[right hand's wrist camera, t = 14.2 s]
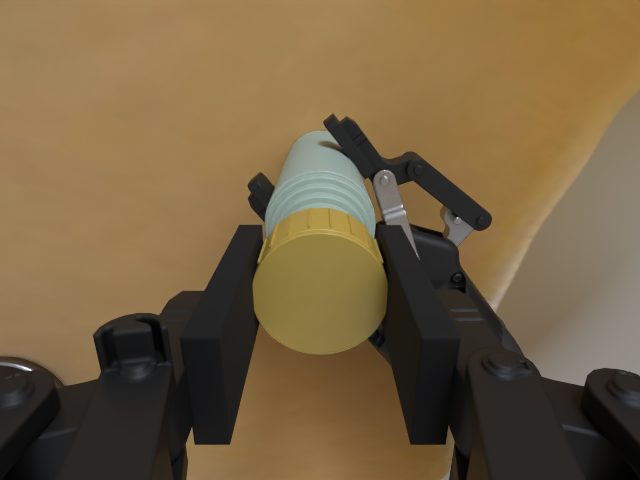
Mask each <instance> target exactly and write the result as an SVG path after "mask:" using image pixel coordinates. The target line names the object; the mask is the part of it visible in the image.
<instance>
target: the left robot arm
mask: <svg viewBox="0 0 640 480" xmlns="http://www.w3.org/2000/svg"><path fill="white" fill-rule="evenodd" d="M323 123H324V125H325V127H326V128H327V130H328V131H329V132H330V134H331V135H332V136H333V138H334V139H335V140H336V142H337V143H338V144H339V146H340V147H341V148H342V150H343V151H344V152H345V153H346V155H347V156H348V157H349V159H350V160H351V161H352V162H353V163H354V165H355V166H356V167H357V169H358V171H359V172H360V173H361V175H362V176H363V177H364V178H365V179H366V178H369V179H370V180H371V182H372V186H373V189H374V192H375V196H376V199H377V203H378V207H379V210H380V213H381V216H382V220H383V221H382V220H381V221H380V222H378V223H377V224H376V226H375V236H374V239H376V241H377V242H378V225H401V226H402V228H403V230H404V232H405V234H406V235H407V237H408V239H409V241H410V243H411V245H412V247H413V249H414V251H415V252H416V254H417V256H418V258H419V260H420V262H421V264H422V266H423V267H424V269H425V271H426V273H427V275H428V277H429V279H430V281H431V283H432V284H433V286H434V288H435V290H459V291H461V292H462V293H464V294H465V295H467V296H468V297H469V298H471V299H472V300H473V302H474V303H475V305H476V306H477V308H478V309H479V312H481V314H482V315H483V317H484V318H485V321H487V323H488V324H489V326H490V327H491V329H492V330H493V332H494V333H495V335H496V336H497V338H498V339H499V341H500V342H501V343H502V345H503V346H504V348H505V349H508V350H511V351H514V352H516V353H518V354H521V355H523V353H522V351H521V349H520V347H519V346H518V344H517V343H516V341H515V340H514V338H513V337H512V335H511V334H510V333H509V331H508V330H507V329H506V327H505V325H504V323H503V321H502V320H501V319H500V318H499V317H498V316H497V315H496V314H495V312H494V311H493V310H492V308H491V307H490V305H489V304H488V303H487V301H486V300H485V299H484V297H483V296H482V295H481V293H480V292H479V290H478V289H477V288H476V286H475V285H474V284H473V282H472V281H471V280H470V278H469V277H468V275H467V274H466V273H465V271H464V270H463V269H462V267H461V265H460V262H459V251H458V248H457V247H458V246H459V245H460V244H461V242H462V241H463V240H464V239H465V238H466V237H467V236H468V235H469V234H470V233H471V232H472V231H473V230H474V229H475V230H478V231H482V230H485V229H486V228H488V227H489V226H490V224H491V221H492V217H491V215H490V214H489V213H488V212H487V211H486V210H485V209H484V208H482V207H481V206H480V205H479V204H477V203H476V202H475V201H474V200H473V199H471V198H470V197H469V196H468V195H467V194H465V193H464V192H463V191H462V190H460V189H459V188H458V187H457V186H456V185H454V184H453V183H452V182H451V181H449V180H448V179H447V178H446V177H445V176H443V175H442V174H441V173H440V172H438V171H437V170H436V169H435V168H434V167H432V166H431V165H430V164H429V163H427V162H426V161H425V160H424V159H423V158H421V157H420V156H419V155H418V154H416V153H415V152H406V153H404V154H403V155H402V156H400V157H397V158H394V159H385V158H383V157H381V156H380V155H379V154H378V152H377V151H376V150H375V148H374V147H373V146H372V144H371V143H370V141H369V140H368V139H367V137H366V136H365V135H364V133H363V132H362V131H361V129H360V128H359V126H358V125H357V124H356V122H355V121H353V120H352V119H350V118H348V117H347V116H346V117H345V118H344V119H343V120H341V121H340V122H339V120H338V119H337V118H336V116H335V115H334V114H332V115H330V116H329V117H328V118H327V119H326V120H324V121H323ZM410 181H414V182H416V183H417V184H418V185H419V186H421V187H422V188H423V189H424V190H426V191H427V192H428V193H429V194H431V195H432V196H433V197H434V198H436V199H437V200H438V201H439V202H441V203H442V204H443V205H444V206H443V207H442V208H441V210H440V216H441V218H442V219H443V221H444V222H445V230H444V232H443V233H441V232H438V231H434V230H430V229H427V228H423V227H419V226H416V225H412V224H409V222H408V218H407V215H406V212H405V209H404V207H403V204H402V200H401V197H400V193H399V189H398V186H397V185H400V184H403V183H406V182H410ZM248 188H249V190H250V192H251V194H250V196H249V198H248V200H249V203H250V206H251V208H252V209H253V210H254V211H255V212H256V213H257V214H258V216H259V217H260V218H261V219H262V220H263V221H264V222H265V214H266V210H267V207H268V204H269V202H270V199H271V197H272V194H273V192H274V189H275V187H274V186H273V185H272V183H271V182H270V181H269V180H268V179H267V178H266V176H265V175H264V174H262V173H261V172H260V173H259V174H257V175H256V176H255V177H254V178H252V179H251V180H250V182H249V183H248ZM367 339H368V340H369V341H370V342H371V344H372V345H373V346H374V347H375V348H376V349H377V350H378V352H379V353H380V354H381V355H382V356H383V357H384V358H385V359H386V361H387V362H388V363H389V364H390V365H391V362H390V358H389V354H388V349H387V345H386V341H385V337H384V333H383V329H382V325H381V324H380V325H379V326H378V328H377V329H376V330H375V332H374V333H373V334H372V335H371V336H370V337H368V338H367ZM523 356H524V355H523ZM30 370H40V371H45V372H48V373H49V374H51V375H52V376H53V377H54V380H55V384H56V387H57V388H60V387H64V385H63V384H62V383H61V381H60V380H59V379H58V378H57V377H56V376H54V375H53V374H52V373H51V372H49V371H48V370H46V369H45V368H43V367H41V366H40V365H38V364H35V363H33V362H30V361H28V360H24V359H20V358H15V357H0V378H2V377H4V376H6V375H9V374H12V373H13V374H14V373H16V372H21V371H30ZM448 425H449V424H448Z"/></svg>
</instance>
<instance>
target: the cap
mask: <svg viewBox="0 0 640 480" xmlns="http://www.w3.org/2000/svg"><path fill="white" fill-rule="evenodd" d="M257 263H258V266H257V269H256V272H255V275H254V278H253V299H254V312H255V314H256V317H257V319H258V321H259V322H260V324H261V326H262V327H263V328H264V330H265V331H266V332H267V333H268V334H269V335H270V336H271V337H272V338H273V339H275V340H276V341H277V342H279V343H280V344H282V345H284V346H285V347H288V348H290V349H292V350H295V351H298V352H301V353H306V354H313V355H328V354H335V353H339V352H343V351H346V350H349V349H351V348H353V347H355V346H357V345H359V344H360V343H362V342H363V341H365V340H366V339H367V338H368V337H370V336H371V335H372V334H373V333H374V332H375V330H376V329H377V328H378V326H379V325H380V324H381V322H382V320H383V318H384V316H385V314H386V306H387V291H388V280H387V276H386V273H385V270H384V267H383V263H384V262H383V259H382V256H381V253H380V250H379V247H378V244H377V241H376V239H374V238H373V237H372V235H371V233H370V232H369V231H368V229H367V228H366V225H365V224H362V223H361V222H360V221H358V220H357V219H356V218H354V217H353V216H351V215H350V214H349V213H348V214H347V213H345V212H342V211H339V210H335V209H332V208H330V207H329V208H309V209H305V210H302V211H298V212H296V213H294V214H293V213H291V214H290V216H288V217H286V218H285V219H284V220H282V221H281V222H280V223H279V224H278V225H277V224H276V225H275V227H274V229H273V230H272V232H271V233H270V234H269V236H268V238H267V239H265V240H264V243H263V246H262V249H261V252H260V255H259V258H258V261H257Z"/></svg>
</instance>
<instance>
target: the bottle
mask: <svg viewBox="0 0 640 480" xmlns="http://www.w3.org/2000/svg"><path fill="white" fill-rule="evenodd" d="M329 207H330V208H332V209H335V210H339V211H342V212H345V213H347V214H348V213H349V214H350V215H351V216H353V217H354V218H356V219H357V220H358V221H360V222H361V223H362V224H365V225H366V228H367V229H368V231H369V232H370V233H371V235H372V237H373V238H374V236H375V226H376V220H375V212H374V208H373V206H372V203H371V200H370V198H369V195H368V193H367V190H366V188H365V185H364V183H363V180H362V178H361V175H360V173H359V171H358V169H357V167H356V166H355V165H354V163H353V162H352V161H351V160H350V159H349V157H348V156H347V155H346V153H345V152H344V151H343V150H342V148H341V147H340V146H339V144H338V143H337V142H336V140H335V139H334V138H333V136H332V135H331V134H330V132H328V131H319V130H318V131H312V132H309V133H306V134H304V135H303V136H301V137H300V138H298V139H297V140H296V141H295V143H294V144H293V145H292V147H291V149H290V151H289V154H288V156H287V159H286V161H285V164H284V166H283V169H282V171H281V174H280V176H279V179H278V181H277V184H276V186H275V189H274V192H273V194H272V197H271V199H270V202H269V204H268V207H267V210H266V214H265V231H266V238H268V236H269V234H270V233H271V232H272V230H273V229H274V227H275V225H276V224H277V225H278V224H279V223H280V222H281V221H282V220H284V219H285V218H286V217H288V216H290V214H291V213H293V214H294V213H296V212H298V211H302V210H305V209H309V208H329Z"/></svg>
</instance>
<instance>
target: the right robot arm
mask: <svg viewBox="0 0 640 480" xmlns="http://www.w3.org/2000/svg"><path fill="white" fill-rule="evenodd" d="M377 244H378V247H379V250H380V253H381V256H382V259H383V262H384V263H383V267H384V270H385V273H386V276H387V280H388V291H387V306H386V314H385V316H384V318H383V320H382V322H381V325H382V329H383V333H384V337H385V341H386V345H387V349H388V354H389V358H390V362H391V366H392V370H393V374H394V378H395V382H396V387H397V391H398V395H399V399H400V403H401V407H402V411H403V415H404V419H405V424H406V428H407V432H408V436H409V440H410V444H411V445H446V438H447V431H448V424H449V427H450V430H451V433H452V435H453V438H454V441H455V445H454V451H453V458H452V464H451V471H450V477H449V480H640V376H639V375H637V374H634V373H631V372H627V371H624V370H619V369H609V368H602V369H597V370H593V371H592V372H591V373H590V374H588V375H587V379H586V382H585V386H579V385H574V384H570V383H565V382H560V381H555V380H551V379H548V378H544V377H541V375H540V373H539V371H538V369H537V368H536V367H535V365H534V364H533V363H532V362H531V361H530V360H528V359H527V358H525V357H524V356H523V355H521V354H518V353H516V352H514V351H511V350H508V349H505V348H504V346H503V345H502V343H501V342H500V341H499V339H498V338H497V336H496V335H495V333H494V332H493V330H492V329H491V327H490V326H489V324H488V323H487V321H485V318H484V317H483V315H482V314H481V312H479V309H478V308H477V306H476V305H475V303H474V302H473V300H472V299H471V298H469V297H468V296H467V295H465V294H464V293H462V292H461V291H459V290H435V288H434V286H433V284H432V283H431V281H430V279H429V277H428V275H427V273H426V271H425V269H424V267H423V266H422V264H421V262H420V260H419V258H418V256H417V254H416V252H415V251H414V249H413V247H412V245H411V243H410V241H409V239H408V237H407V235H406V234H405V232H404V230H403V228H402V226H401V225H378V242H377ZM262 246H263V233H262V225H239V227H238V229H237V231H236V233H235V235H234V236H233V238H232V240H231V242H230V244H229V246H228V248H227V250H226V251H225V253H224V255H223V257H222V259H221V261H220V263H219V265H218V267H217V268H216V270H215V272H214V274H213V276H212V278H211V280H210V282H209V283H208V285H207V287H206V289H205V291H182V292H181V293H179V294H178V295H176V296H175V297H173V298H172V299H170V300H169V301H168V303H167V304H166V306H165V307H164V309H163V310H162V313H160V315H156V314H152V313H136V314H130V315H125V316H122V317H119V318H116V319H114V320H111V321H109V322H108V323H106V324H104V325H103V326H101V327H100V328H99V329H98V330H97V331H96V332H95V333H94V334H93V338H94V342H95V347H96V351H97V355H98V360H99V364H100V368H101V373H100V376H99V378H98V379H96V380H92V381H88V382H84V383H79V384H75V385H70V386H65V387H60V388H57V387H56V384H55V380H54V377H53V376H52V375H51V374H49V373H48V372H45V371H40V370H30V371H21V372H16V373H14V374H13V373H12V374H9V375H6V376H4V377H2V378H0V480H186V476H187V467H188V458H187V451H186V445H185V444H186V442H187V439H188V436H189V433H190V431H191V428H193V435H194V442H195V445H230V442H231V438H232V434H233V430H234V426H235V421H236V417H237V413H238V409H239V405H240V401H241V397H242V393H243V388H244V384H245V380H246V376H247V372H248V368H249V364H250V360H251V355H252V351H253V347H254V343H255V339H256V335H257V331H258V327H259V321H258V319H257V317H256V314H255V312H254V299H253V278H254V275H255V272H256V269H257V266H258V263H257V261H258V258H259V255H260V252H261V249H262Z"/></svg>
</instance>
